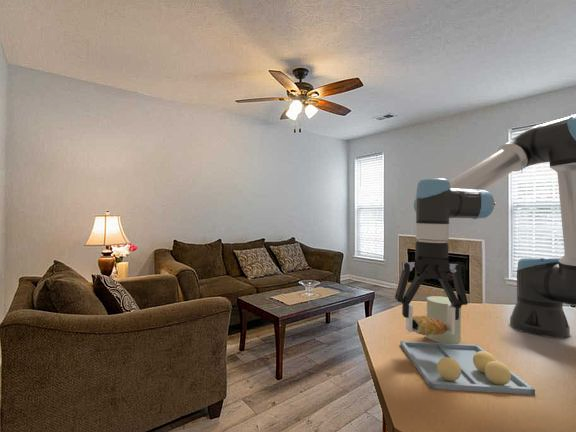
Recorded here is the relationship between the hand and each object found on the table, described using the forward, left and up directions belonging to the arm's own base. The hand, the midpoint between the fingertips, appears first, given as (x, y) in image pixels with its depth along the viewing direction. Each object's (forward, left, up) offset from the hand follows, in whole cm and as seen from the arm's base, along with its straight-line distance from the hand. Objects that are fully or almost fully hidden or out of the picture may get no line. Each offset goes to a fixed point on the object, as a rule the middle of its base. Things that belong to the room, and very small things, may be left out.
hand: (429, 331), depth 79 cm
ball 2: (-10, +12, -6) cm, 16 cm away
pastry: (+1, -1, -1) cm, 1 cm away
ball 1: (-10, +7, -6) cm, 13 cm away
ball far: (0, +11, -6) cm, 13 cm away
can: (-9, -14, -7) cm, 18 cm away
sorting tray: (-5, +4, -7) cm, 9 cm away
